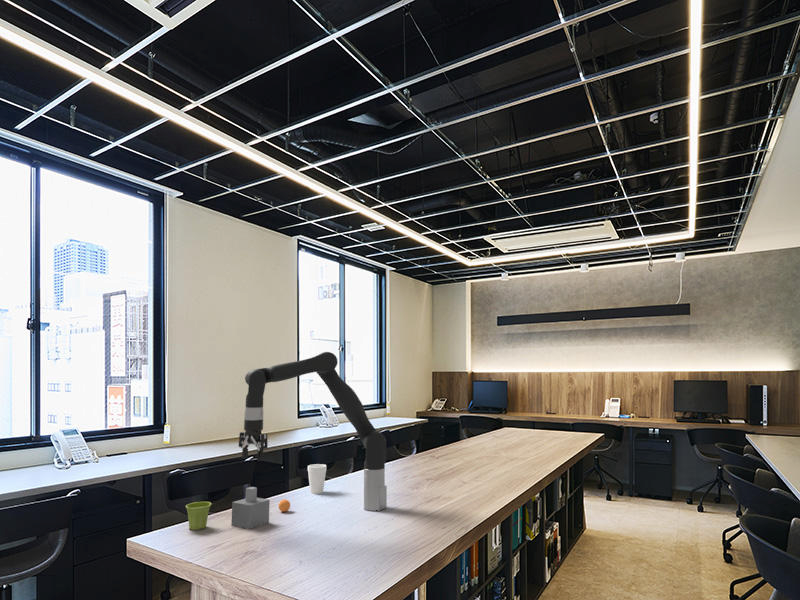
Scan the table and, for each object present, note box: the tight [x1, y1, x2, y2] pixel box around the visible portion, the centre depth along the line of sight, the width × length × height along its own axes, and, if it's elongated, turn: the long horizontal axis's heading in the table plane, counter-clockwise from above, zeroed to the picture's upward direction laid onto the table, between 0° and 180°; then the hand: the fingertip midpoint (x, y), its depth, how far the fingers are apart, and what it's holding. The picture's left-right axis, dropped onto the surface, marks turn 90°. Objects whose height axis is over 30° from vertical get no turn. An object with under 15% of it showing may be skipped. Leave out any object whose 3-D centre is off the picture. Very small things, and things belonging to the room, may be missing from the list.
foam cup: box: [307, 463, 327, 495], centre depth 255 cm, size 10×9×13 cm
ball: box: [278, 499, 291, 513], centre depth 220 cm, size 5×5×5 cm
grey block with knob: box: [230, 486, 271, 530], centre depth 203 cm, size 10×10×14 cm
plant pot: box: [185, 501, 212, 531], centre depth 198 cm, size 9×9×9 cm
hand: (252, 459), depth 206 cm, fingers open, 8 cm apart
